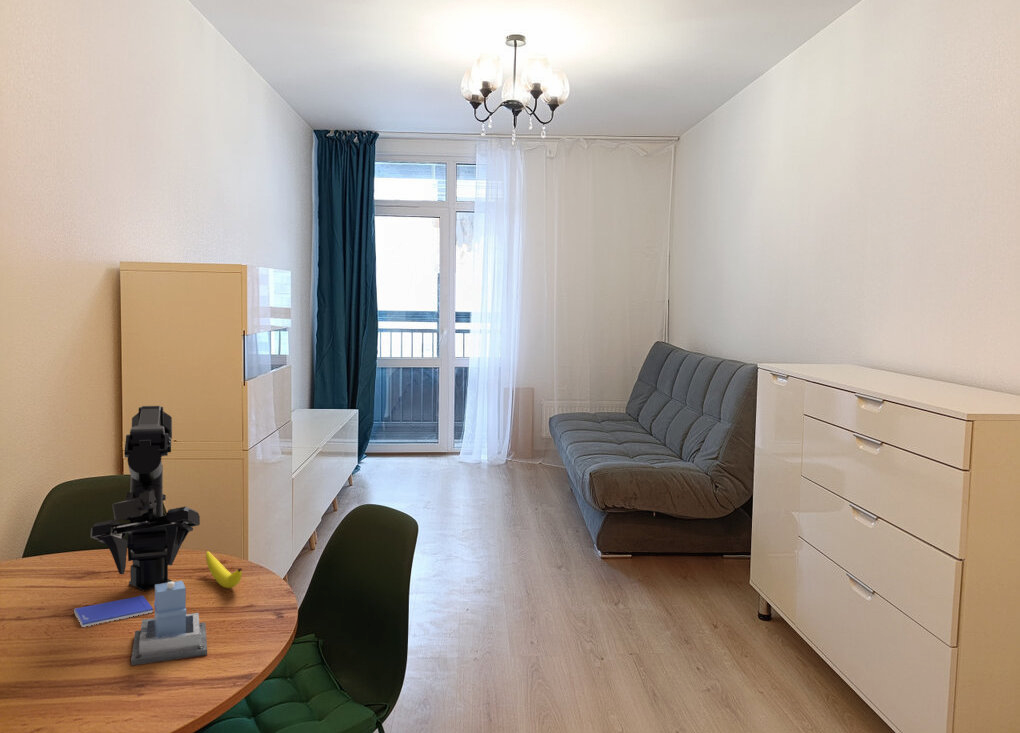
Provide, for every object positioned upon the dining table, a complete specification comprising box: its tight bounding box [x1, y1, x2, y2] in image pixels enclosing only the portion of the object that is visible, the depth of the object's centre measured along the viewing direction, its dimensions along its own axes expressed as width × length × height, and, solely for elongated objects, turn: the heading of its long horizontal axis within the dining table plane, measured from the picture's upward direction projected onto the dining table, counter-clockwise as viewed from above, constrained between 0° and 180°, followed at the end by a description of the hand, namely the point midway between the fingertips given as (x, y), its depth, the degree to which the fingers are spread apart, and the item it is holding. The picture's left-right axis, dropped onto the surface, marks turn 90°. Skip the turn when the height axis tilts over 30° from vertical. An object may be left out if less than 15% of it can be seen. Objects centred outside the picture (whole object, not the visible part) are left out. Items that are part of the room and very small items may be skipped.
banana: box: [205, 550, 243, 589], centre depth 166 cm, size 3×19×6 cm, turn 41°
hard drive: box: [73, 594, 154, 628], centre depth 150 cm, size 2×8×12 cm
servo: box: [153, 580, 188, 637], centre depth 137 cm, size 6×5×11 cm
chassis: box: [130, 612, 208, 667], centre depth 137 cm, size 12×12×4 cm
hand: (145, 569), depth 143 cm, fingers open, 9 cm apart
